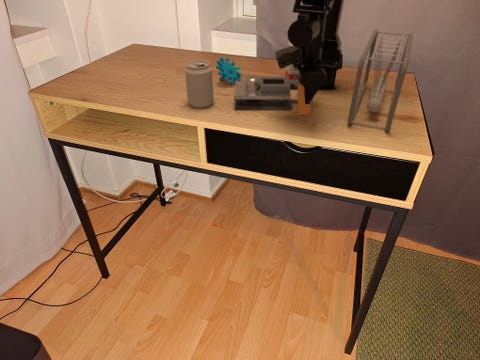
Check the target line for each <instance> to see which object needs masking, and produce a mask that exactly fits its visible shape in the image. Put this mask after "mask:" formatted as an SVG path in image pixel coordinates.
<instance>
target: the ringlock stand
mask: <svg viewBox="0 0 480 360" xmlns="http://www.w3.org/2000/svg"><path fill="white" fill-rule="evenodd" d="M298 81H299V80H289V78H288V77H285V76H259V75H253V74H251V75H246V76H244V80H241V81H236V85H234V86H235V88H234V111H292V109H293V107H292V102H291V98H292V97H291V91H297V90H298Z"/></svg>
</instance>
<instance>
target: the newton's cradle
mask: <svg viewBox="0 0 480 360" xmlns="http://www.w3.org/2000/svg"><path fill="white" fill-rule="evenodd" d="M378 34H380V36H379V39H378V40H377V38H378ZM384 34H386V35H394V36H396V35H397V36H402V37H401V38H400V39H399V40H398V41H399V42H395V41H392V43H395V44H397V46H394V45H393V46H392V45H391V47H395V50H394V51H393V50H390V49H387V51H388V52H389V51H390V52H393V54H390V56H392V57H391V59H390V60H387V59H382V56H383V55H386V56H387V53H386V54H383V53H382V52H383V51H384V49H383V46H385V47H387V45H386V44H383V43H385V42H386V43H388V41H386V40H382V39H383V38H384V39H386V37H384V36H383V35H384ZM405 36H407V38H406V42H405V46H404V50H403V52H402V53H403V54H402V57H401V61H399V59H400V56H401V55H400V54H401V50H402V46H403V42H404V37H405ZM413 36H414V35H413V33H412V32H410V33H400V32H388V31H379V30H378V29H374V30H373V32H372V34H371V36H370V38H369V40H368V42H367V44H366V45H365V46H366V47H365V48H364V50H363V52H362V54H361V56H360V59H359V62H358V66H357V70H356V71H357V72H356V76H355V81H354V87H353V92H352V97H351V102H350V107H349V112H348V117H347V124H348V126H349V125H352V124H355V125H361V126H367V127H373V128H379V129H384V130H385V132H390V130H391V128H392V124H393V121H394V117H395V113H396V109H397V106H398V102H399V98H400V94H401V92H402V88H403V83H404V81H405V77H406V73H407V69H408V66H409V61H410V53H411V46H412V42H413V41H412V40H413ZM391 39H393V40H396V37H395V38H394V37H393V38H392V37H391ZM368 54H369V55H368ZM367 56H368V57H367ZM365 61H367V62H366V63H367V65H366V69H365V73H364V79H363V82H362V87H361V89H360V86H361V85H360V84H361V79H362V75H363V71H364V67H365V66H364V65H365ZM373 61H374V62H375V75H373V76H374V79H373V80H374V82H373V85H372V86H371V87H370V86H369V87H368V86H367V84H368V80H369V76H370V71H371V66H372V62H373ZM382 62H384V63H388V66H387V68H386V70H385V72H384V74H383V76H382V74H381V63H382ZM394 64H399V69H398V72H397V76H396V80H395V83H394V88H393V90H390V89H389V90H388V89H387V85H388V80H387V78H388V76H389V74H390V72H391V70H392V68H393V65H394ZM359 89H360V91H359ZM366 89H368V90H369V89H370V90H371V91H370V92H369V96H368V99H367V102H366V108H367V109H368V111H370V112H372V113H373V112H377V111H380V109H381V108H382V106H383V105H382V103H383V101H384V97H385V92H389V93H392V96H391V100H390V105H389V110H388V114H387V119H386V124H385V126H379V125H373V124H367V123H364V122H363V123H362V122H356V121H354V119H355V116H356V114H357V112H358V110H359V106H360V104H361V101H362V98H363V96H364V94H365V91H366ZM358 93H359V94H358Z"/></svg>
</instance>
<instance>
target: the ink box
mask: <svg viewBox="0 0 480 360" xmlns="http://www.w3.org/2000/svg"><path fill="white" fill-rule="evenodd" d="M290 46H293V45H292V44H291V43H290V41H289V42H287V47H290ZM284 77H288V78H289V80H298V79H299V70H298V69H297V68H296V67H295V66H294V64H292V65H289V66H286V67H285V76H284Z"/></svg>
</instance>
